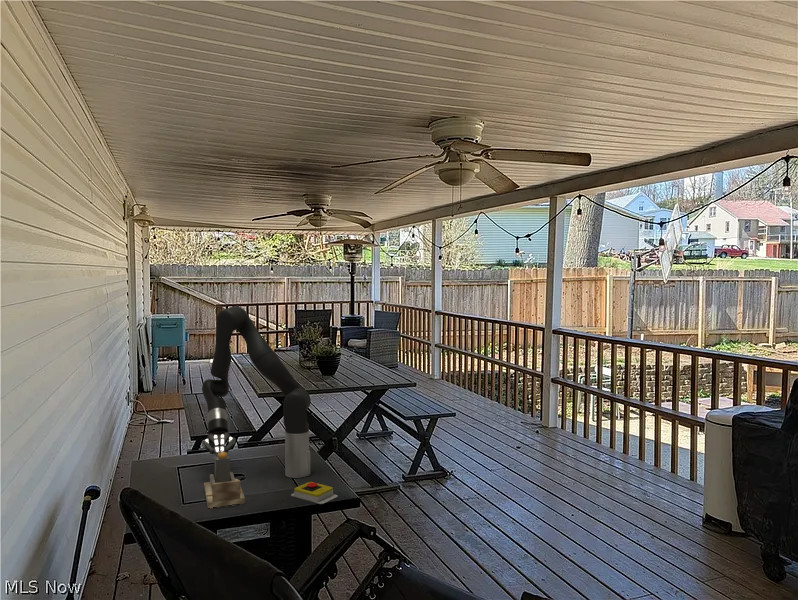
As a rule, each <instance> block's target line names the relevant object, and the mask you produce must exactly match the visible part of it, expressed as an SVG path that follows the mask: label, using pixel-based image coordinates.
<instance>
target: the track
mask: <svg viewBox="0 0 798 600" xmlns="http://www.w3.org/2000/svg"><path fill="white" fill-rule="evenodd" d="M203 490H204V494H205V500H206V506H207V509H208V508H210V509H214V508H213V507H217V508H222V507H221V506H225V507H227V506H226V505H232V504H240V505H245V503H246V496H245V495H244V491H243V488H242V486H241V479H238V478H235V475H234V472H233V471H230V481H228V482H220V483H215V474H214V473H212V474H209V481H207V482H203ZM232 506H233V505H232Z"/></svg>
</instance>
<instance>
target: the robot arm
mask: <svg viewBox="0 0 798 600" xmlns="http://www.w3.org/2000/svg"><path fill="white" fill-rule="evenodd" d="M215 331H216V332H215V344H214V345H215V347H214V353H213V358H212V363H211V367H210V375H211V376H213V378H216V379H213V378H212V379H206V380H204V382H203V383H202V386H201V390H202V391H201V392H202V395H203V397H204V400H205V402H206V405H207V437H206V439H202V441H201V446H202V447H203V448H204V449H205V450H206V451H207V452H208V453H209V454H210V455H215V457H218V453H220V452H226V453H228V452H230V450H231V449H232V447H233V446H234V445H235V443H236V440H237V439H236V437H232V436H231V434H230V432H229V423H228V422H229V421H228V414H227V413H228V412H227V404H226V400H225V399H224V398H225V397H227V395H228V394H229V391H230V386H229V385H230V384H229V371H230V368H231V364H232V363H231V362H232V352H231V350H232V349H231V339H232V335H233V333H234V331H237V332H238V333H239V334H240V336H241V338H242V339H244V341H245V344H246V347H247V352H248V356H249V359H250V361H251V362H252V364H253V365H254V367H255V368H256V369H257V371H258V372H259V373H260V374H261V375H262V376H263V377H265V378H266V379H267V380H268V381H270V382H272V383H273V384H274V385H275V386H276V387H277V388H278V389H279V390H280V391H281V392H282V394H283V396H284V397H285V398H284V399H283V407H282V412H283V413H282V414H283V415H282V416H283V424H284V428H285V429H284V435H285V436H284V437H285V439H284V441H285V443H284V446H285V447H284V449H285V450H284V452H285V453H284V454H285V457H284V461H285V463H284V464H285V467H284V468H285V469H284V471H285V472H284V474H285V476H286V477H287V478H291V479H299V478H305V477H307V476H311V451H310V424H309V423H308V415H307V414H308V412H307V411H308V409H309V408H310V407H311V402H312V399H311V396H310V394H309V393H308V391H307V390H306V389H305V388H304V387H303V386H302V385H301V384H300V383H299V382H298V381H297V380H296V379H295V378H294V376H293V375H292V374H291V373H290V371H289V369H288V368H287V367H286V366H285V364H284V363H283V361H282V360H281V359H280V358H279V356H278V355H277V353H276V352H275V351H274V349H273V348H272V347H271V346H270V344H269V343H268V342H267V341H266V340H265V338H264V337H263V335H262V334H261V333H260V332H259V330H258V329H257V327H256V326H255V324H254V322H253V321H252V319H251V318H250V316H249V314H248V313H247V311H246V310H245V309H244V308H243V307H241V306H239V305H233V306H230V307H228V308H224V309H222V310H221V311H219V313H218V315H217V317H216V330H215ZM217 378H218V379H217ZM227 443H228V444H227ZM226 444H227V445H226ZM225 445H226V446H225Z"/></svg>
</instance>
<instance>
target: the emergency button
mask: <svg viewBox="0 0 798 600" xmlns="http://www.w3.org/2000/svg"><path fill="white" fill-rule="evenodd" d="M333 488H334V487H332V486H329V485H326V484H321V483H316V482H313V481H308V482H306V483H304V484H301V485H299V486H296V487H295V488H293V489H294V490H293V493H291V494H290V497H295V498H298V499H300V500H305V501H309V502H312V503H315V504H319V505H323V504H325V503H327V502H330V501H333V500H334V499H336V498H338V497H339V496H338V495H337V494H334V489H333Z"/></svg>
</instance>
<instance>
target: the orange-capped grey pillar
mask: <svg viewBox="0 0 798 600" xmlns="http://www.w3.org/2000/svg"><path fill="white" fill-rule="evenodd" d="M219 452H220V451H219ZM227 453H228V452H227ZM227 453H226V452H220V453H218V457H216V456H214V479H215V483H220V482H228V481H230V472H231V457H230V455H228V454H227Z"/></svg>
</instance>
